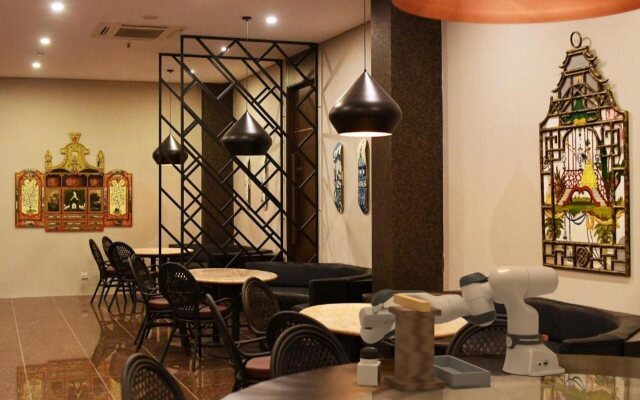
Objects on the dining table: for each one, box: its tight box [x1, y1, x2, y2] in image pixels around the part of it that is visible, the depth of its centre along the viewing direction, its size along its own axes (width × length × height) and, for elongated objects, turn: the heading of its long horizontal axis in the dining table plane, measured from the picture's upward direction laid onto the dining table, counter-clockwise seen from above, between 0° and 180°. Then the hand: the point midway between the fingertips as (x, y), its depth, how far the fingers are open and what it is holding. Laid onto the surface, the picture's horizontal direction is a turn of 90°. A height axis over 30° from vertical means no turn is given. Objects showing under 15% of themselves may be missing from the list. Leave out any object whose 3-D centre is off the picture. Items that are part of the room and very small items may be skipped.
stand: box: [383, 305, 446, 392], centre depth 273 cm, size 16×14×26 cm
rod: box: [393, 294, 430, 312], centre depth 276 cm, size 3×24×3 cm, turn 18°
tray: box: [434, 355, 492, 390], centre depth 284 cm, size 14×30×5 cm, turn 18°
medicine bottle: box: [356, 347, 382, 387], centre depth 275 cm, size 7×7×12 cm
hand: (394, 305), depth 289 cm, fingers open, 8 cm apart
